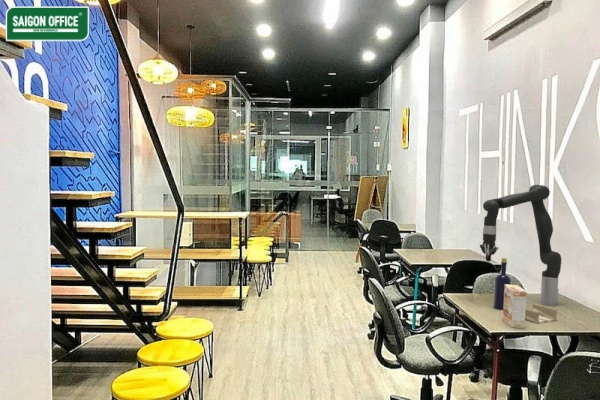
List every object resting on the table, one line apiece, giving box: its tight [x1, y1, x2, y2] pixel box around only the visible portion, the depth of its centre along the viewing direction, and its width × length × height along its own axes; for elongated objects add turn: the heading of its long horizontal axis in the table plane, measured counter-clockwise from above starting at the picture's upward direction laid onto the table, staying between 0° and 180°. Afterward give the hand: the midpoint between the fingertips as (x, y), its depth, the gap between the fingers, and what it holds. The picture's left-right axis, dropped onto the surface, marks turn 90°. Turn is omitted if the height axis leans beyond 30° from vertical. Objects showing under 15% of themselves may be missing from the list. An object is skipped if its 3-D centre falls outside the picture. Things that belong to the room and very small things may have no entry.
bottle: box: [493, 257, 512, 311], centre depth 297 cm, size 9×9×30 cm
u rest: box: [525, 303, 558, 325], centre depth 278 cm, size 16×14×6 cm
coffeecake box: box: [502, 284, 527, 329], centre depth 266 cm, size 15×7×20 cm, turn 174°
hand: (488, 261), depth 308 cm, fingers closed
